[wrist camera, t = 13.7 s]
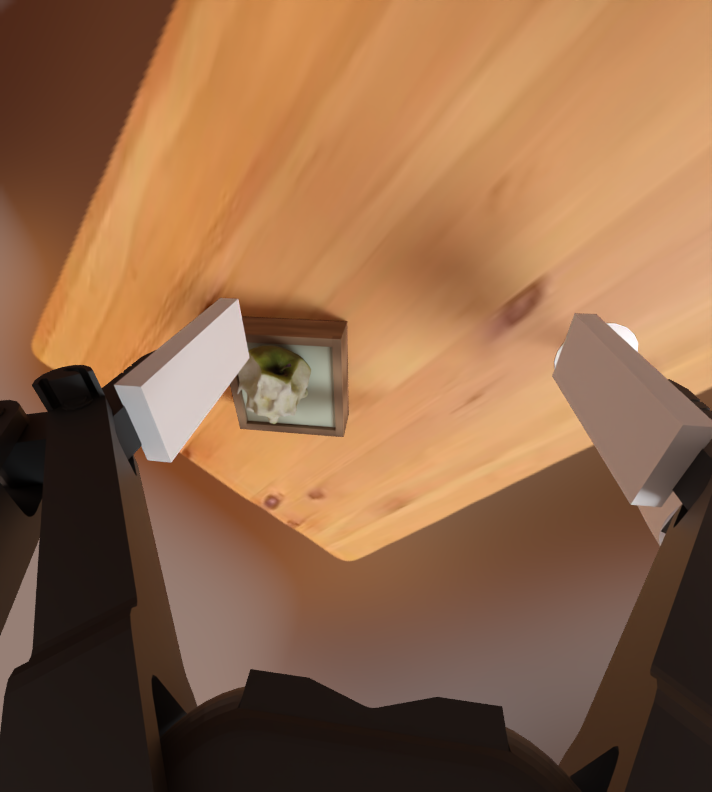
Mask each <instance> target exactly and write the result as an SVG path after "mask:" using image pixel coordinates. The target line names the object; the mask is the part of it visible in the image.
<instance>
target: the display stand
mask: <svg viewBox="0 0 712 792" xmlns="http://www.w3.org/2000/svg"><path fill="white" fill-rule="evenodd" d="M242 321H243V326H244V332H245V337H246V342H247V347H248V350H250V349H252V348H256V347H259V346H277V347H282V348H285V349H288V350H290V351H292V352H294V353H296V354H298V355H299V356H301V357H302V358H303V359H304V360H305V361H306V362H307V364H308V365H309V366H310V368H311V375H310V378H309V383H308V387H307V390H308V395H307V396H306V397H305V398H302V399H301V400H300V401H299V403H298V404H297V411H296V413H295V415H294V416H292V415H291V416H285V417H283V416H279V418H278V422H277V423H276V424H273V423H270V422H269V420H268V418H267V417H266V416H259V415H256V414H255V413H254V412H251V411H248V410H247V409H246V403H247V393H246V392H245V390H243V389H242V390H241V391H240V392H239V394H237V391H238V388H239V383H240V382H239V376H238V374H237V375H236V377H235V378H234V379H233V381H232V382H231V383H230V387H231V391H232V395H233V400H234V404H235V408H236V412H237V416H238V421H239V425H240V429H249V430H262V431H274V432H286V433H299V434H311V435H324V436H336V437H344V433H345V428H346V424H347V420H348V415H349V407H348V344H347V322H343V321H322V320H302V319H281V318H260V317H242Z"/></svg>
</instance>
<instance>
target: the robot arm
mask: <svg viewBox="0 0 712 792" xmlns="http://www.w3.org/2000/svg"><path fill="white" fill-rule="evenodd" d="M248 359H249V353H248V347H247V342H246V337H245V332H244V326H243V321H242V316H241V311H240V305H239V300H238V299H233V298H220V299H219V300H217V301H216V302H215V303H214V304H212V305H211V306H210V307H209V308H207V309H206V310H205V311H204V312H203V313H201V314H200V315H199V316H198V317H196V318H195V319H194V320H193V321H192V322H190V323H189V324H188V325H187V326H185V327H184V328H183V329H182V330H181V331H179V332H178V333H177V334H176V335H174V336H173V337H172V338H171V339H169V340H168V341H167V342H166V343H165V344H163V345H162V346H161V347H160V348H158V349H157V350H155V351H153V352H151V353H149V354H146V355H144V356H142V357H141V358H139V359H138V360H137V361H136V362H134V363H133V364H132V366H129V367H128V368H127V369H126V370H124V373H121V374H119V375H118V376H117V377H116V378H114V379H113V380H112V381H111V382H109V383H108V384H107V385H105V386H104V387H103V388H101V386H100V384H99V382H98V380H97V378H96V376H95V374H94V372H93V370H92V369H91V367H88V366H85V365H72V366H66V367H62V368H58V369H55V370H52V371H50V372H47V373H45V374H43V375H42V376H40V377H39V378H37V379H36V380H35V381H34V383H33V384H32V386H33V388H34V390H35V391H36V393H37V394H38V396H39V398H40V399H41V401H42V403H43V404H44V406H45V407H46V409H47V411H48V412H42V413H35V414H26V413H25V412H24V410H23V409H22V408H21V406H20V404H19V403H18V402H17V401H12V400H3V401H0V635H1V632H2V630H3V627H4V625H5V623H6V620H7V618H8V615H9V612H10V610H11V608H12V605H13V603H14V600H15V598H16V595H17V593H18V590H19V588H20V585H21V582H22V580H23V578H24V575H25V573H26V570H27V568H28V565H29V563H30V560H31V558H32V556H33V553H34V551H35V548H36V546H37V543H38V540H39V538H40V542H39V557H38V573H37V589H36V605H35V620H34V637H33V650H32V655H31V658H30V660H29V662H27V663H25V664H23V665H21V666H19V667H17V668H15V669H14V671H13V672H12V674H11V676H10V677H9V679H8V682H7V687H6V692H5V696H4V704H3V713H2V722H1V732H0V792H712V411H710V408H709V407H707V406H706V405H705V404H704V403H703V402H700V400H699V399H698V398H697V397H696V396H695V395H694V394H693V393H692V392H690V391H689V390H688V389H687V388H685V387H683V386H681V385H679V384H678V383H676V382H674V381H672V380H670V379H666V378H665V377H664V376H663V375H662V374H661V373H660V372H659V371H658V370H657V369H656V368H654V367H653V366H652V365H651V364H650V363H649V362H648V361H647V360H646V359H645V358H644V357H642V356H641V355H640V354H639V353H638V352H637V351H636V350H635V349H634V348H633V347H632V346H630V345H629V344H628V343H627V342H626V341H625V340H624V339H623V338H622V337H621V336H620V335H618V334H617V333H616V332H615V331H614V330H613V329H612V328H611V327H610V326H609V325H608V324H606V323H605V322H604V321H603V320H602V319H601V318H600V317H599V316H598V315H597V314H580V313H575V314H574V317H573V319H572V322H571V325H570V328H569V331H568V333H567V336H566V339H565V342H564V345H563V347H562V350H561V353H560V356H559V359H558V361H557V364H556V367H555V370H554V372H553V375H552V377H553V378H554V380H555V381H556V383H557V385H558V386H559V388H560V390H561V391H562V393H563V395H564V396H565V398H566V399H567V401H568V403H569V404H570V406H571V408H572V409H573V411H574V413H575V414H576V416H577V417H578V419H579V421H580V422H581V424H582V426H583V427H584V429H585V431H586V432H587V434H588V436H589V437H590V439H591V440H592V442H593V444H594V445H595V447H596V449H597V450H598V452H599V454H600V455H601V457H602V458H603V460H604V462H605V463H606V465H607V467H608V468H609V470H610V471H611V473H612V475H613V476H614V478H615V480H616V481H617V483H618V485H619V486H620V488H621V489H622V491H623V493H624V494H625V496H626V498H627V499H628V501H629V503H630V504H631V505H641V506H652V507H662V506H663V504H664V503H665V502H666V500H667V499H668V497H669V496H670V495H671V493H672V492H674V493H675V494H676V496H677V497H678V498H679V500H680V501H681V502H682V504H681V506H680V507H679V508H678V509H677V511H676V512H675V513H674V515H673V516H672V517H671V518H670V520H669V521H668V522H667V524H666V525H665V526H664V527H663V529H662V530H661V532H663V533H665V537H664V539H663V541H662V544H661V546H660V548H659V550H658V553H657V555H656V557H655V560H654V562H653V564H652V567H651V569H650V571H649V573H648V576H647V578H646V580H645V583H644V585H643V587H642V590H641V592H640V594H639V597H638V599H637V601H636V603H635V606H634V608H633V610H632V613H631V615H630V617H629V619H628V622H627V624H626V627H625V629H624V631H623V633H622V635H621V638H620V640H619V642H618V645H617V647H616V649H615V652H614V654H613V656H612V658H611V661H610V663H609V666H608V668H607V670H606V672H605V675H604V677H603V679H602V681H601V684H600V686H599V688H598V691H597V693H596V695H595V698H594V700H593V702H592V704H591V707H590V709H589V711H588V714H587V716H586V718H585V721H584V723H583V725H582V727H581V729H580V731H579V733H578V735H577V737H576V738H575V740H574V741H573V743H572V744H571V746H570V747H569V749H568V750H567V752H566V753H565V755H564V757H563V758H562V760H561V762H560V764H559V766H558V765H557V764H556V763H555V762H554V761H553V760H552V759H551V758H550V757H549V756H548V755H546V754H545V753H544V752H543V751H541V750H540V749H539V748H538V747H536V746H535V745H534V744H533V743H531V742H530V741H529V740H527V739H525V738H524V737H522V736H521V735H519V734H518V733H516V732H515V731H513V730H511V729H509V728H507V727H505V721H504V716H503V709H502V706H495V705H488V704H481V703H474V702H467V701H461V700H455V699H447V698H441V697H434V698H429V699H424V700H418V701H412V702H406V703H401V704H395V705H390V706H384V707H379V708H369V707H366V706H363V705H361V704H359V703H357V702H355V701H354V700H352V699H350V698H348V697H346V696H344V695H342V694H340V693H338V692H336V691H334V690H332V689H330V688H328V687H326V686H324V685H322V684H320V683H318V682H316V681H314V680H312V679H310V678H307V677H300V676H293V675H287V674H280V673H273V672H266V671H259V670H253V669H251V670H250V673H249V676H248V679H247V682H246V686H245V687H241V688H237V689H234V690H231V691H228V692H225V693H222V694H220V695H218V696H216V697H214V698H212V699H210V700H208V701H206V702H204V703H203V704H201V705H199V706H198V707H197V704H196V701H195V698H194V695H193V692H192V690H191V687H190V685H189V682H188V680H187V677H186V674H185V670H184V667H183V663H182V659H181V654H180V650H179V645H178V641H177V636H176V632H175V627H174V623H173V619H172V614H171V610H170V605H169V601H168V596H167V592H166V588H165V583H164V579H163V574H162V570H161V566H160V561H159V557H158V552H157V548H156V544H155V539H154V535H153V530H152V526H151V522H150V517H149V513H148V509H147V504H146V500H145V495H144V491H143V487H142V482H141V478H140V473H139V469H138V465H137V462H136V460H135V458H134V455H133V454H134V453H135V452H136V451H137V450H138V449H139V448H140V447H141V446H142V448H143V451H144V453H145V455H146V457H147V460H151V461H162V462H172V461H173V459H174V458H175V457H176V455H177V454H178V453H179V451H180V450H181V449H182V447H183V446H184V445H185V443H186V442H187V441H188V439H189V438H190V437H191V435H192V434H193V433H194V431H195V430H196V429H197V427H198V426H199V425H200V423H201V422H202V421H203V419H204V418H205V417H206V415H207V414H208V413H209V411H210V410H211V409H212V407H213V406H214V405H215V403H216V402H217V401H218V399H219V398H220V397H221V395H222V394H223V393H224V391H225V390H226V389H227V387H228V386H229V385H230V383H231V382H232V381H233V379H234V378H235V377H236V375H237V374H238V373H239V371H240V370H241V369H242V367H243V366H244V365H245V363H246V362H247V361H248Z"/></svg>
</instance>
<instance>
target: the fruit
mask: <svg viewBox="0 0 712 792" xmlns="http://www.w3.org/2000/svg"><path fill="white" fill-rule="evenodd" d="M248 353H249V359H248V361H247V362H246V363H245V365H244V366H243V367H242V369H241V370H240V371H239V373H238V376H239V382H240V383H239V388H238V391H237V394H239V392H240V391H241V390H242V389H243V390H245V392H246V393H247V403H246V409H247V410H248V411H251V412H254V413H255V414H256V415H259V416H266V417H267V418H268V420H269V422H270V423H273V424H276V423H277V422H278V418H279V416H283V417H285V416H291V415H292V416H294V415H295V413H296V411H297V404H298V403H299V401H300V400H301V399H302V398H305V397H306V396H307V395H308V390H307V387H308V383H309V378H310V375H311V368H310V366H309V365H308V364H307V362H306V361H305V360H304V359H303V358H302V357H301V356H299V355H298V354H296V353H294V352H292V351H290V350H288V349H285V348H282V347H277V346H259V347H256V348H252V349H250V350H248Z"/></svg>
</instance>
